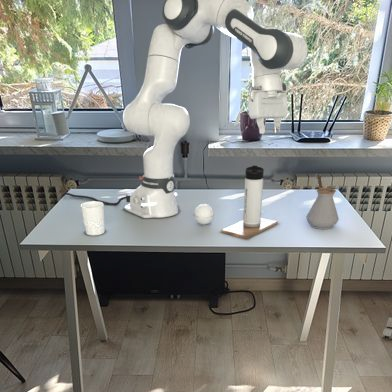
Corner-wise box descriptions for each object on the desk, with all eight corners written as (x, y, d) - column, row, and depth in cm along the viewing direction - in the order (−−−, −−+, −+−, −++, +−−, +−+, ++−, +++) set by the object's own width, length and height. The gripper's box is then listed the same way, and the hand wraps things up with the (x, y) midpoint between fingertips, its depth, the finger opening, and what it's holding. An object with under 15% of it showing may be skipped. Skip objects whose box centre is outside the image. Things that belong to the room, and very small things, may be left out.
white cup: (96, 237, 175) (92, 209, 170) (79, 233, 179) (75, 205, 173) (110, 230, 181) (108, 203, 175) (94, 227, 184) (91, 199, 179)
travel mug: (260, 221, 185) (263, 165, 174) (260, 227, 179) (264, 170, 168) (243, 221, 185) (245, 165, 174) (242, 227, 180) (245, 169, 169)
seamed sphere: (192, 221, 189) (192, 201, 185) (212, 220, 189) (212, 200, 185) (195, 230, 180) (195, 210, 176) (216, 229, 181) (216, 209, 177)
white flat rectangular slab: (221, 232, 179) (221, 229, 178) (252, 217, 191) (253, 215, 191) (246, 239, 173) (246, 236, 172) (277, 223, 186) (277, 221, 185)
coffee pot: (340, 231, 179) (347, 188, 170) (308, 231, 179) (313, 188, 170) (327, 212, 196) (333, 172, 188) (298, 212, 197) (302, 172, 188)
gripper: (259, 83, 152) (262, 132, 157) (289, 86, 167) (292, 130, 172) (241, 87, 156) (245, 135, 161) (272, 89, 171) (275, 133, 176)
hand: (270, 133), depth 166 cm, fingers open, 8 cm apart
